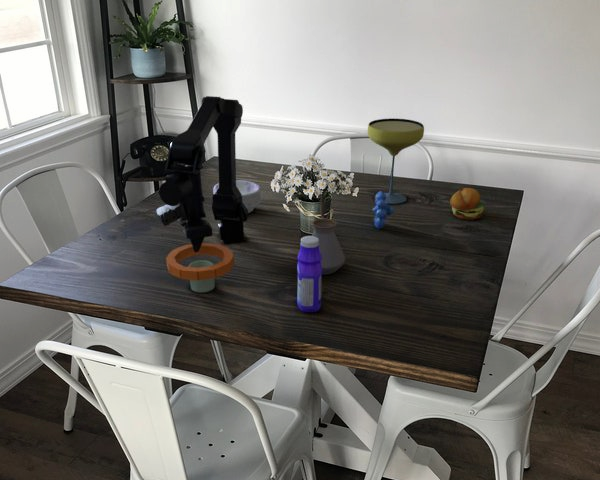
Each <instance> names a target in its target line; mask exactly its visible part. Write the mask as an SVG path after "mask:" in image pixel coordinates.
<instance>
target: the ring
mask: <svg viewBox="0 0 600 480" xmlns="http://www.w3.org/2000/svg"><path fill="white" fill-rule="evenodd" d="M200 255H201V256H202V255H206V256H215V257H218V258H220V259H222V260H221V261H219V262H217V263H215V264H213V266H208V267H201V268H195V267H189V266H185V265H183V264H180V263H179V262H180V261H182V260H185V259H187V258H189V257H192V256H193V257H194V256H200ZM165 259H166V267H167V270H168V273H169V274H170V275H172V276H174V277H176V278H178V279H181V280H188V281H190V280H196V281H198V280H206V279H213V278H214V279H216V278H219V277H221V276H224V275H226V274H229V273H230V272H231V270H232V269H233V267H234V266H235V255H234V253H233V252H232V249H231V248H229V247H227V246H224V245H222V244H220V243H219V244H218V243H210V242H202V245H201V247H200V250H199V252H194V249H193V246H192V244H191V243H190V244H184V245H182V246H180V247H179V246H178V247H177V248H174V249H172V250H171V251H170V252H169V253H168V255H166V257H165Z"/></svg>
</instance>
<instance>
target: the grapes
mask: <svg viewBox="0 0 600 480" xmlns="http://www.w3.org/2000/svg"><path fill="white" fill-rule="evenodd" d="M385 193H386V192H383V190H381V191H378V192H377V193H376V195H375V196H374V198H375V197H376V198H377V199H376V200H375V199H374V204H375V206H374V207H372V209H371V211H372V212H373V213H374V214H375V217H374V218H373V221H374V223H373V225H374V226H375V228H376V229H378V230H381V229H382V228H383V227H384V226H385V225H386V223H387V221H386V218H387V217H388V216H391V215H392V214H393V213H394V212H395V209H394V207H393V206H391V204H387V202H386V201H385V199H386V198H387V196H386V195H385Z"/></svg>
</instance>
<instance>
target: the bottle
mask: <svg viewBox="0 0 600 480" xmlns="http://www.w3.org/2000/svg"><path fill="white" fill-rule="evenodd" d="M321 259H322V255H321V253H320V251H319V239H318V238H317V237H314V236H312V235H305V236H303V237H301V238H300V249H299V252H298V254H297V260H298V262H297V266H296V271H297V298H296V303H297V306H298V308H299V310H300V311H301V312H303V313H314V312H315V313H316V312H318V311H320V309H321V306H322V275H323V274H322V266H321V261H320V260H321Z"/></svg>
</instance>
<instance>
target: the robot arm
mask: <svg viewBox="0 0 600 480" xmlns="http://www.w3.org/2000/svg"><path fill="white" fill-rule="evenodd" d="M243 108H244V107H243V105H242V104H241V103H240V101H239V100H238V99H228V98H224V97H221V96H212V95H206V96H204V97H202V99H201V105H200V107H199V108H198V110H197V112H196V114H195V115H194V117H193V118H192V121H191V122H190V125H189V126H188V127H187V129H186V130H185V131H183V132H181V133H179V134H177V136H176V137H174V139H173V140H172V142H171V143H170V145H169V148H168V152H167V157H166V163H165V166H164V167H165V168H164V173H170V174H167V175H166V176H165V177H164V179H165V181H164V182H162V183H161V185H160V186H159V190H158V196H159V199H160V200H161V201H162V202H163V203H164V205H162V206H159V207H158V208H157V209H156V214H157V217H158V218H159V220H160V222H161V224H162V225H163V227H167V226H169V225H170V224H172V223H174V222H176V221H178V222H179V224H180V225H181V227H183V228H182V231H183V233H184V235H185V237H186V239H188V240H189V241H190V244H192V246H193V249H194V252H199V250H200V247H201V245H202V243H204V240H205V238H207V237H208V238H209V237H212V236H213V227H212V225H211V223H210V222H209V221H208V220H207V219H204V218H207V216H206V215H207V214H206V212H205V209H204V202H205V197H204V195H203V184H202V183H203V182H202V169H204V165H203V163H204V160H205V156H206V151H207V150H206V148H205V143H206V140H207V138H208V137H209V135H210V134H211V131H212V129H214V131H215V132H216V135H217V164H218V167H217V168H218V169H217V170H218V171H217V172H218V173H217V174H218V183H219V188H218V189H217V191H216V193H215V194H212V203H211V210H212V213H213V218H214V220H215V221H219V223H218V224H217V226H218V237H219V239H220V240H221V241H222V243H223V244H234V243H240V242H241V243H243V242H246V241H247V240H246V237H245V234H244V233H245V231H244V229H245V228H244V222H247V221H248V217H249V213H248V210H247V208H246V207H245V205H244V204H243V202H242V194H241V193H240V191H239V190H238V188H237V186H236V180H237V161H236V159H237V157H236V155H237V154H236V133H237V131H238V129H239V128H240V126H241V124H242V118H243V114H244V109H243Z"/></svg>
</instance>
